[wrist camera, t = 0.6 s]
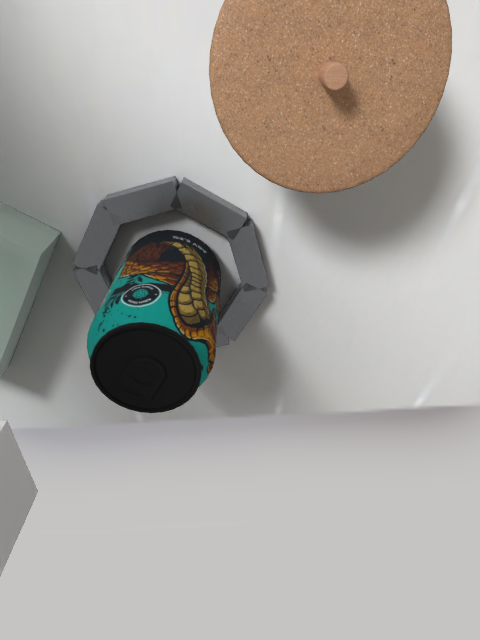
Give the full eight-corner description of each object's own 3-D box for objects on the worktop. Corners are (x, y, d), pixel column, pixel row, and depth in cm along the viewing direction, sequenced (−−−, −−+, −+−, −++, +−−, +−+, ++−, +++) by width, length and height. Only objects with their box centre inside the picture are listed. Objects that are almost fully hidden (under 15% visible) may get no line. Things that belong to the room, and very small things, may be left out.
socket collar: (59, 300, 35) (53, 308, 34) (125, 144, 29) (121, 148, 28) (210, 367, 39) (209, 376, 38) (296, 240, 33) (298, 247, 32)
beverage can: (238, 256, 33) (238, 353, 23) (194, 326, 37) (176, 438, 26) (150, 207, 31) (107, 290, 21) (111, 285, 35) (57, 390, 24)
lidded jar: (383, 159, 30) (436, 204, 22) (218, 159, 30) (210, 204, 22) (417, -52, 24) (505, -95, 16) (213, -52, 24) (200, -95, 16)
